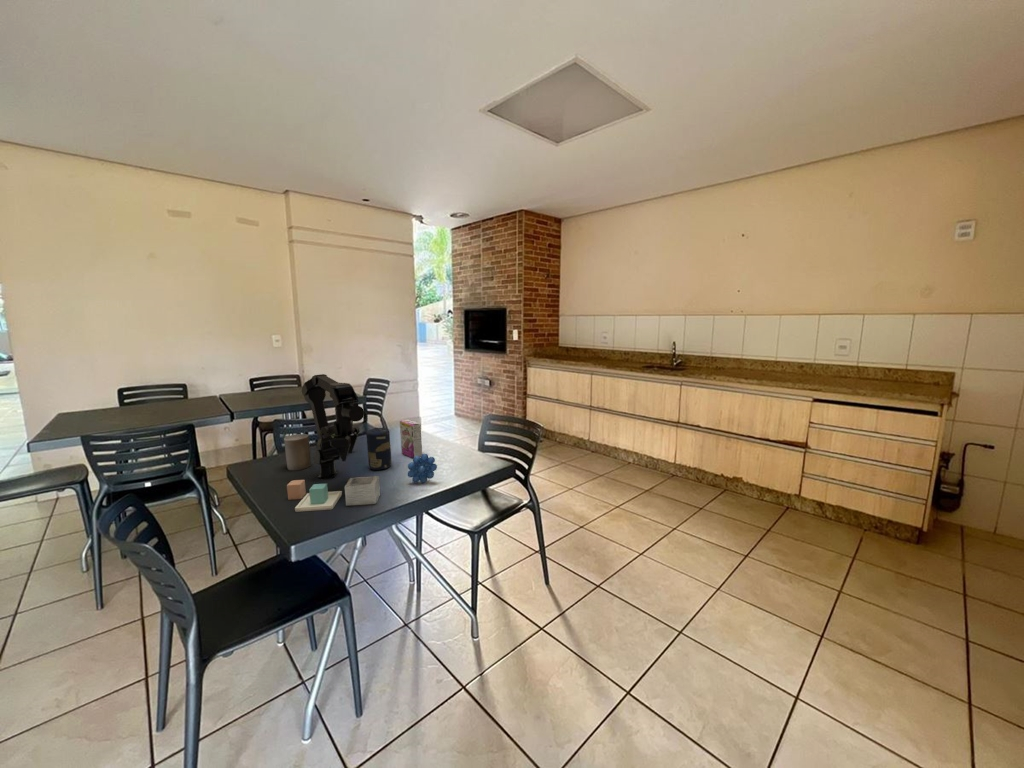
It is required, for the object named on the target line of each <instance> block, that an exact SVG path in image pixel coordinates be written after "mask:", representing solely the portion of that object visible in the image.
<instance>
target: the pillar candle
mask: <svg viewBox="0 0 1024 768" xmlns="http://www.w3.org/2000/svg"><path fill="white" fill-rule="evenodd" d="M309 440H310V438H309V435H308V434H306V433H298V434H297V433H296V434H291V435H288V436H286V437H284V438H283V443H284V449H285V451H284V452H285V459H286V467H287V470H288V471H300V470H304V469H308V468H310V467H312V465H313V464H312V457H311V446H310V441H309Z"/></svg>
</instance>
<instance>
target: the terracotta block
mask: <svg viewBox="0 0 1024 768" xmlns="http://www.w3.org/2000/svg"><path fill="white" fill-rule="evenodd" d="M286 490H287V491H286V492H287V499H288V500H289V501H291V500H302V499H303V498H304V497H305V495H306V494H307V491H306V482H305V479H295V480H291V481H290V482H289V483H287V485H286Z"/></svg>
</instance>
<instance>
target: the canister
mask: <svg viewBox="0 0 1024 768" xmlns="http://www.w3.org/2000/svg"><path fill="white" fill-rule="evenodd" d="M390 434H391V433H390V430H389V428H387V427H373V428H370V429H367V431H366V434H365V435H366V448H367V459H368V460H367V461H368V467H369V468H370V469H371V470H375V471H379V470H384V469H387V468H390V466H391V465H392V451H391V450H392V449H391V438H390V437H391V436H390Z"/></svg>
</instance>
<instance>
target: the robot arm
mask: <svg viewBox="0 0 1024 768" xmlns="http://www.w3.org/2000/svg"><path fill="white" fill-rule="evenodd" d="M326 392H328V393H329V397H330V399H332V400H333V402H332V404H333V405H334V412H335V413H334V414H335V420H334V422H333V423H332V424H330V425H329V421H328V417H327V413H326V408H325V405H324V401H325V398H326V396H327V394H326ZM301 394H302V396H303V397H304V400H305V401H306V403H308V404H309V405H310V408H311V412H312V417H313V421H314V425H315V430H316V433H317V438H318V441H317V443H316V445H315V450H316V451H315V454H314V455H313V462H314V463H315V464H317V465H318V466H319V472H320V474H319V475H318V476H317V479H326V478H330V479H331V478H335V476H337V474H338V473H339V471H338V470H336V464H335V463H336V462H335V461H339V460H340V459H341V461H342V462H346V461H347V458H348V454H352V453H353V450H354V447H355V445H356V442H357V441H358V440H357V439H358V437H359V433H360V427H359V426H358V425H354V422H360V421H361V420H362V419H363V418H364V417H365V410H364V408H363V407H362V406H361V405H359V396H358V395H357V393H356V391H355V389H354V387H353V386H352V385H351V384H350V383H348V382H338V381H336V380H335V379H333V378H331V377H328V375H327V374H325V373H324V374H323V373H321V374H314V375H313V376H312V377H311V378H310V379H308V380H307V381H305V382H304V383H303V385H302V387H301ZM333 434H334V435H333ZM336 435H339V436H336ZM331 436H332V437H331Z"/></svg>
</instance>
